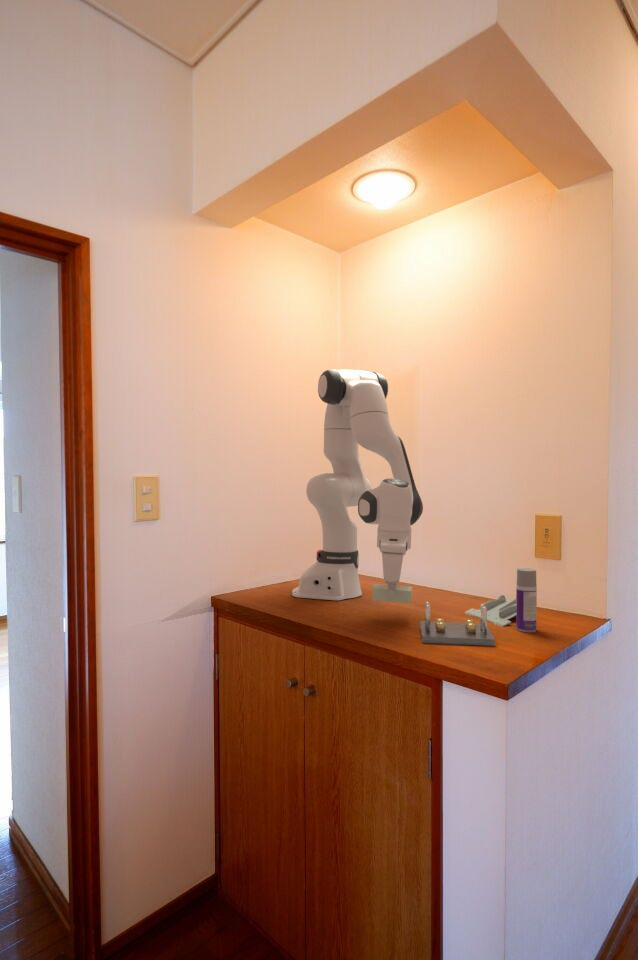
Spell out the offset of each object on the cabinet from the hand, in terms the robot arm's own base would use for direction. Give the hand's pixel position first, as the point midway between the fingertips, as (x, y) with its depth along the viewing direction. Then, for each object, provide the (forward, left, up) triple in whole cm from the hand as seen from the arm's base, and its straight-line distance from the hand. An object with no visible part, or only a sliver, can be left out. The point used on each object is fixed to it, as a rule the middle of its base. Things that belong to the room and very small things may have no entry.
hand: (392, 593), depth 142 cm
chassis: (+15, -12, -7) cm, 20 cm away
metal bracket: (+29, +8, -8) cm, 31 cm away
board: (0, 0, -2) cm, 2 cm away
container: (+33, -4, -8) cm, 34 cm away
